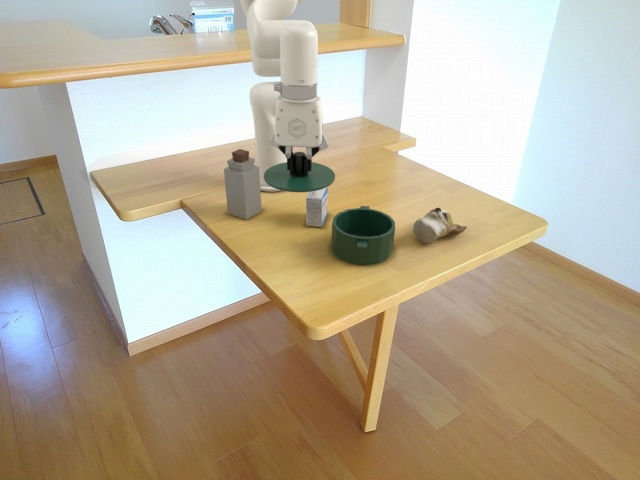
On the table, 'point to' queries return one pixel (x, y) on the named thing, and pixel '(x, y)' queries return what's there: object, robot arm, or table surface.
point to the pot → (363, 236)
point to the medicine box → (316, 207)
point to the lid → (299, 176)
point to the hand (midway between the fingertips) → (299, 172)
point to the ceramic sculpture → (436, 226)
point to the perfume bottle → (242, 185)
